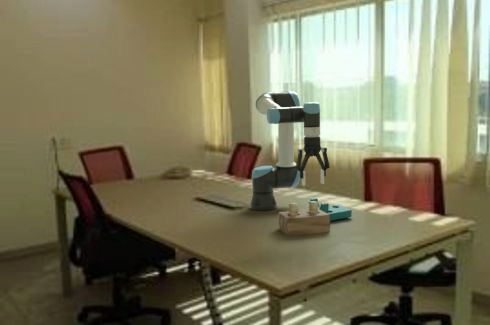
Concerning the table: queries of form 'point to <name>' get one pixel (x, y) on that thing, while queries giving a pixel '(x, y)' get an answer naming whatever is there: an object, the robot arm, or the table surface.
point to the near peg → (293, 209)
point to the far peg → (313, 207)
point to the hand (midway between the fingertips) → (313, 184)
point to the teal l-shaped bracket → (334, 210)
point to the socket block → (304, 222)
